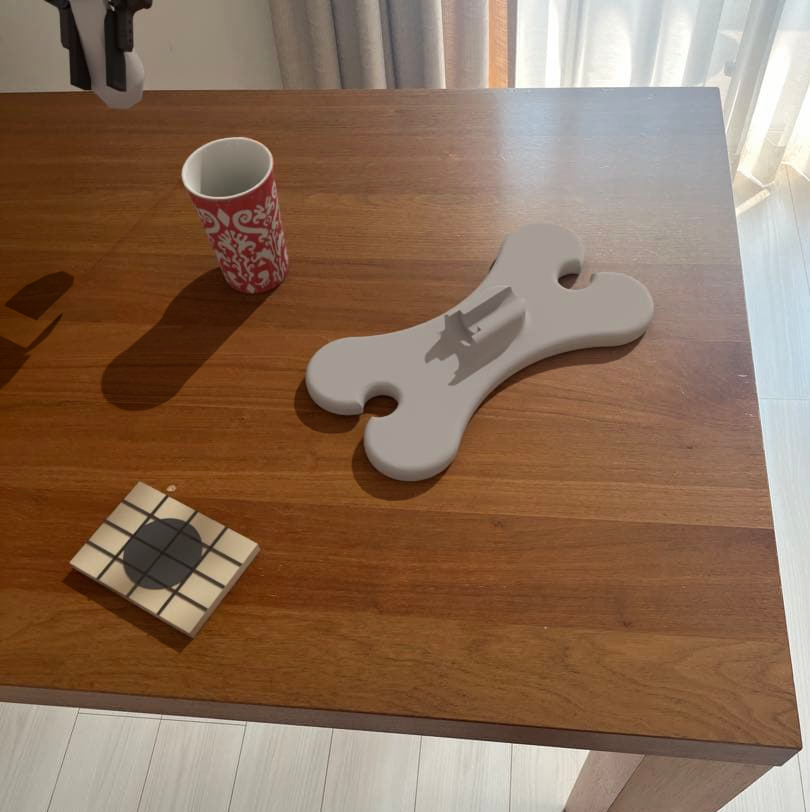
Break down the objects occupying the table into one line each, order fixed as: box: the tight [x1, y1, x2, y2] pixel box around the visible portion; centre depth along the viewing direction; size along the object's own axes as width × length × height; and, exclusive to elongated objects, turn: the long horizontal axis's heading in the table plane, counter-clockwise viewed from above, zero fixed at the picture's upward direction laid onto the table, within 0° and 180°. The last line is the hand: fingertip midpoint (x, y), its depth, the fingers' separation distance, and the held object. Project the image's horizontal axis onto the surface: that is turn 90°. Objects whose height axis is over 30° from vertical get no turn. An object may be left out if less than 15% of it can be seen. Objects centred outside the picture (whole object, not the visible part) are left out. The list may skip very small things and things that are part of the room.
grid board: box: [68, 481, 261, 639], centre depth 80 cm, size 14×10×1 cm
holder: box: [304, 221, 655, 482], centre depth 87 cm, size 19×34×5 cm, turn 127°
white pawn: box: [69, 0, 146, 110], centre depth 86 cm, size 6×6×13 cm
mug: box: [180, 136, 290, 295], centre depth 93 cm, size 13×9×14 cm
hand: (98, 87), depth 86 cm, fingers closed on white pawn, 3 cm apart
